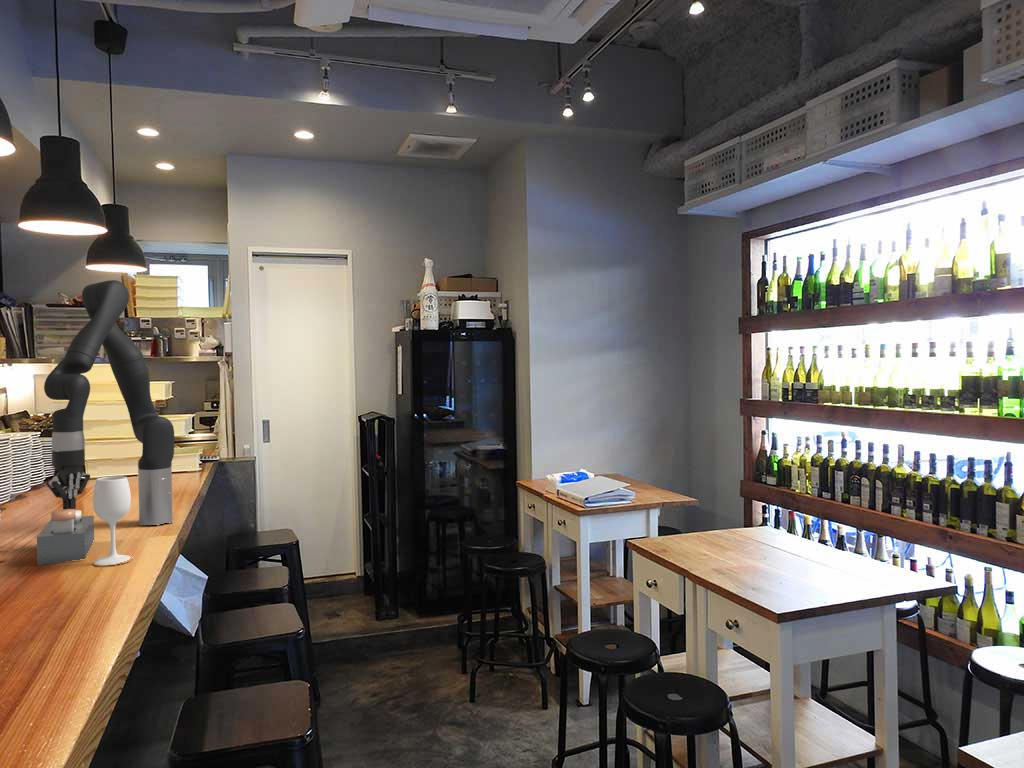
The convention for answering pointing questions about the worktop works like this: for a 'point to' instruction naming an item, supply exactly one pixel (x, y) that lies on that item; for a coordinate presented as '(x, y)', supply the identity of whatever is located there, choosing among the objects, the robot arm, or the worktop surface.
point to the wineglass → (112, 509)
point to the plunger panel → (65, 542)
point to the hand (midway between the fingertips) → (69, 512)
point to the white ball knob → (78, 516)
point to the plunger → (63, 520)
